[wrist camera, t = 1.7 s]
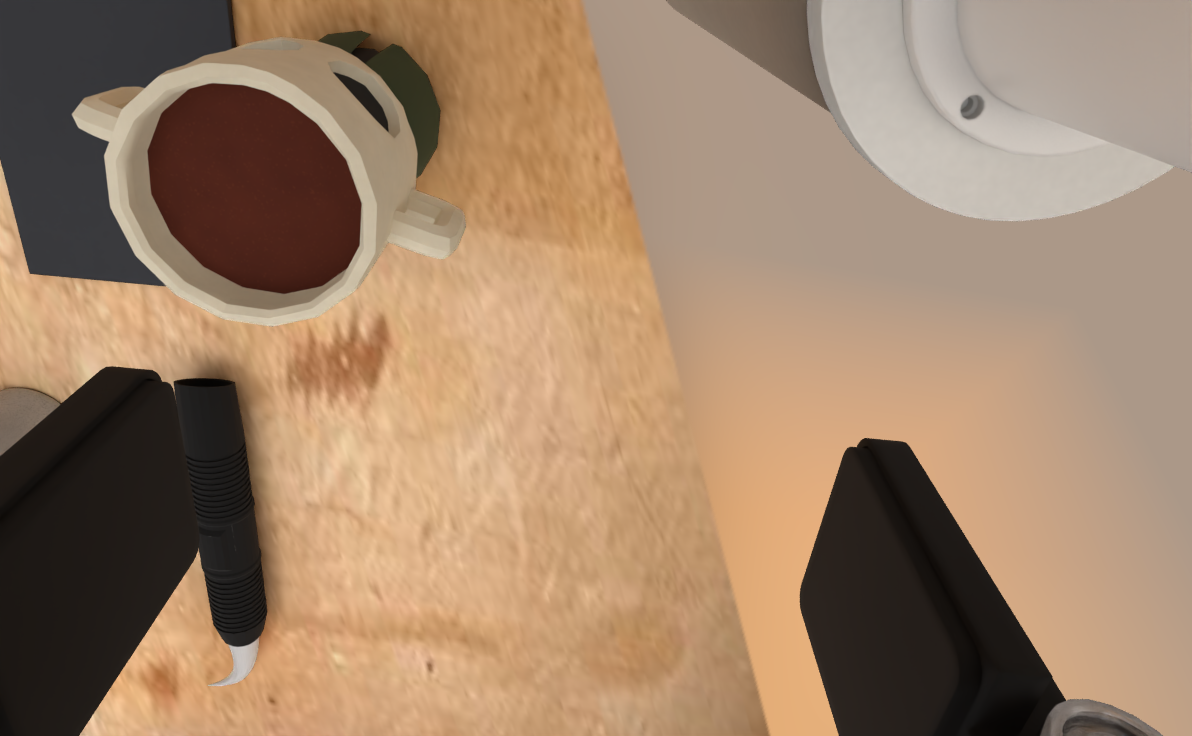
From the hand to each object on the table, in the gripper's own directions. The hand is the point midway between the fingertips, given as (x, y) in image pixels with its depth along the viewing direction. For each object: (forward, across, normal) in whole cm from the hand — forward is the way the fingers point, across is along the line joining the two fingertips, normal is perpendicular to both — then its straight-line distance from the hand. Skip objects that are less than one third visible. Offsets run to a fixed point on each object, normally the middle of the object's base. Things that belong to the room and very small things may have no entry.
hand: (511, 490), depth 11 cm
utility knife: (+24, +16, +23) cm, 37 cm away
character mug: (+24, +8, 0) cm, 25 cm away
